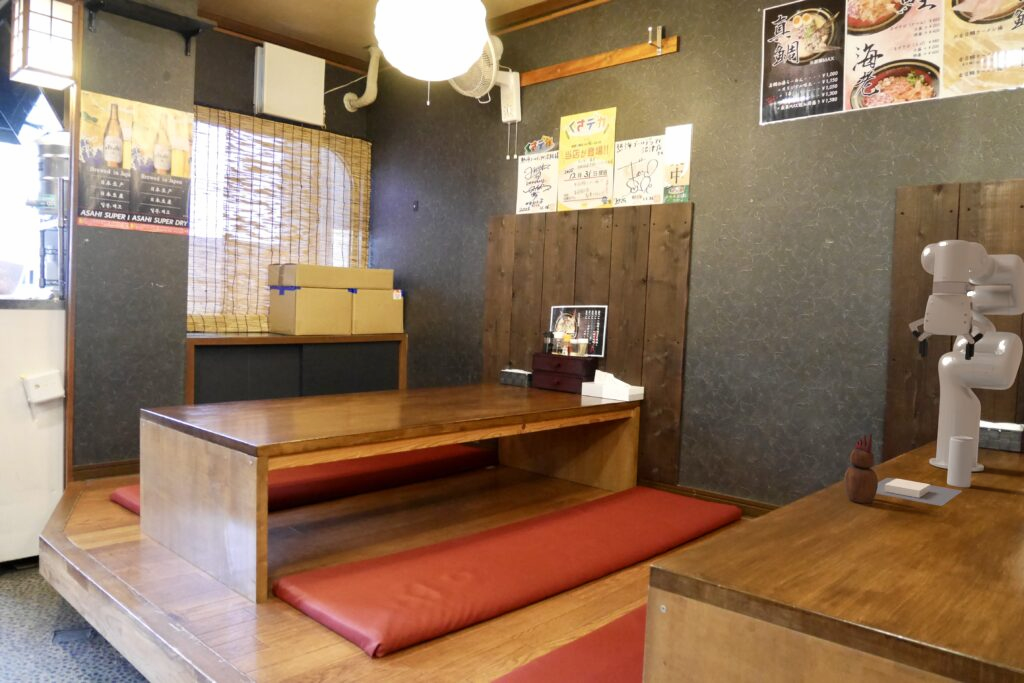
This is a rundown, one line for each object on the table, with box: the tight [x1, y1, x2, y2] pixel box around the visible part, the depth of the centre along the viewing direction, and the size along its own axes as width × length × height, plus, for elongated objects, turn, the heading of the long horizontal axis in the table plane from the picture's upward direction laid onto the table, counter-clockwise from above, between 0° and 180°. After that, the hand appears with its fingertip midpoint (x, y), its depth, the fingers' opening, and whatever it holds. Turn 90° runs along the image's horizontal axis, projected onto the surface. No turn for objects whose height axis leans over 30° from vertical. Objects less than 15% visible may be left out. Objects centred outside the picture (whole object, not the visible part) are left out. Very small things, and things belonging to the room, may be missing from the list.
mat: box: [876, 477, 963, 507], centre depth 162 cm, size 20×16×1 cm
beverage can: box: [946, 436, 974, 489], centre depth 169 cm, size 5×5×12 cm
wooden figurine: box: [843, 433, 879, 504], centre depth 152 cm, size 7×6×15 cm
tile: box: [885, 478, 931, 498], centre depth 160 cm, size 2×7×9 cm
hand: (945, 358), depth 177 cm, fingers open, 9 cm apart
